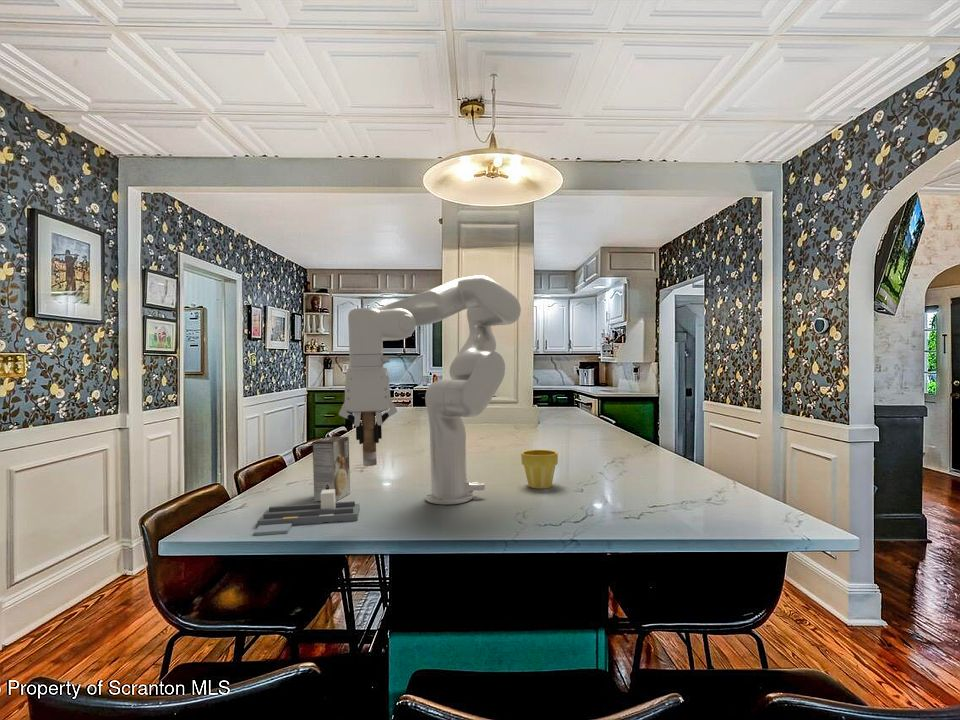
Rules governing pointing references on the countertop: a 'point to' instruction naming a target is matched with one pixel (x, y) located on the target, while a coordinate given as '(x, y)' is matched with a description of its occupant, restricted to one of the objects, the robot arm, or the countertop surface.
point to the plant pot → (539, 467)
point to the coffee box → (331, 466)
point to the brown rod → (369, 439)
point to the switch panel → (309, 514)
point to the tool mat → (272, 529)
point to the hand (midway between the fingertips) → (369, 441)
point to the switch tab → (328, 499)
